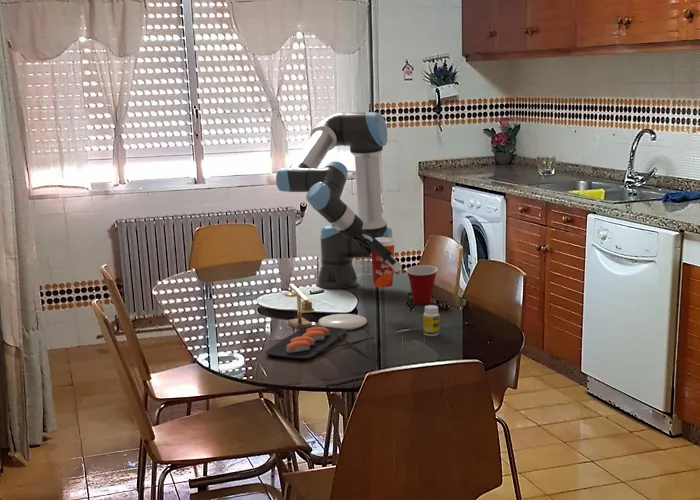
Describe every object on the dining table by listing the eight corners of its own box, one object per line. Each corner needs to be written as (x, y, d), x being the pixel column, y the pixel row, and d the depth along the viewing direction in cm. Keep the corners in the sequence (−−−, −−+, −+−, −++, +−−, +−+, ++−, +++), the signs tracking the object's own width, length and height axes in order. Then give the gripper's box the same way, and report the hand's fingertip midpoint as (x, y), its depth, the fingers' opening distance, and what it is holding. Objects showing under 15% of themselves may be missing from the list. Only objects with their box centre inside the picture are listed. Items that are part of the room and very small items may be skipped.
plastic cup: (401, 304, 272) (400, 270, 270) (413, 297, 282) (413, 264, 279) (430, 308, 267) (430, 273, 265) (442, 300, 277) (442, 266, 274)
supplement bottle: (434, 337, 236) (434, 309, 234) (420, 335, 238) (420, 307, 237) (441, 333, 240) (442, 305, 238) (427, 330, 242) (427, 303, 241)
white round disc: (311, 321, 254) (310, 318, 254) (352, 315, 261) (352, 311, 261) (331, 333, 241) (331, 330, 241) (375, 326, 248) (375, 322, 248)
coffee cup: (378, 289, 253) (377, 242, 249) (365, 283, 260) (364, 238, 257) (401, 285, 256) (400, 239, 253) (388, 280, 264) (387, 235, 260)
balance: (282, 320, 257) (281, 283, 255) (297, 317, 259) (295, 281, 257) (302, 332, 243) (301, 294, 241) (317, 330, 245) (316, 292, 243)
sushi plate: (307, 330, 248) (306, 318, 247) (399, 339, 236) (398, 327, 236) (262, 359, 221) (261, 346, 220) (363, 371, 210) (363, 357, 209)
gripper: (324, 226, 256) (369, 269, 267) (354, 237, 238) (402, 282, 249) (338, 208, 258) (383, 251, 268) (370, 217, 239) (416, 263, 250)
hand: (392, 266), depth 258 cm, fingers closed on coffee cup, 8 cm apart
